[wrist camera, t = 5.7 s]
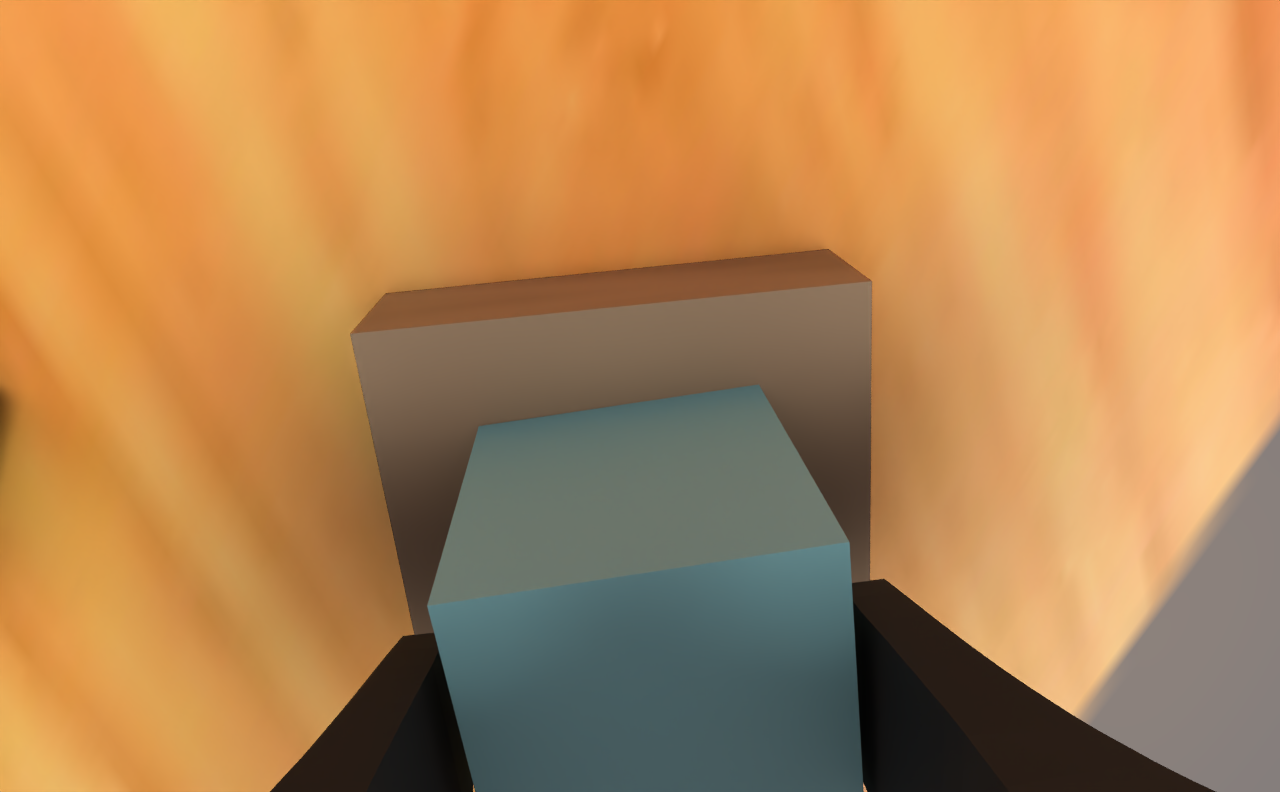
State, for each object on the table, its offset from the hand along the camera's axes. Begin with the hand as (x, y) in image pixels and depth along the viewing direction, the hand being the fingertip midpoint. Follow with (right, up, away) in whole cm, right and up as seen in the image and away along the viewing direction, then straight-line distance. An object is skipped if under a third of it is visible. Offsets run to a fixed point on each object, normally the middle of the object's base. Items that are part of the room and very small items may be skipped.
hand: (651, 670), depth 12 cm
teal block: (0, +1, +3) cm, 4 cm away
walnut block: (0, +2, +6) cm, 6 cm away
